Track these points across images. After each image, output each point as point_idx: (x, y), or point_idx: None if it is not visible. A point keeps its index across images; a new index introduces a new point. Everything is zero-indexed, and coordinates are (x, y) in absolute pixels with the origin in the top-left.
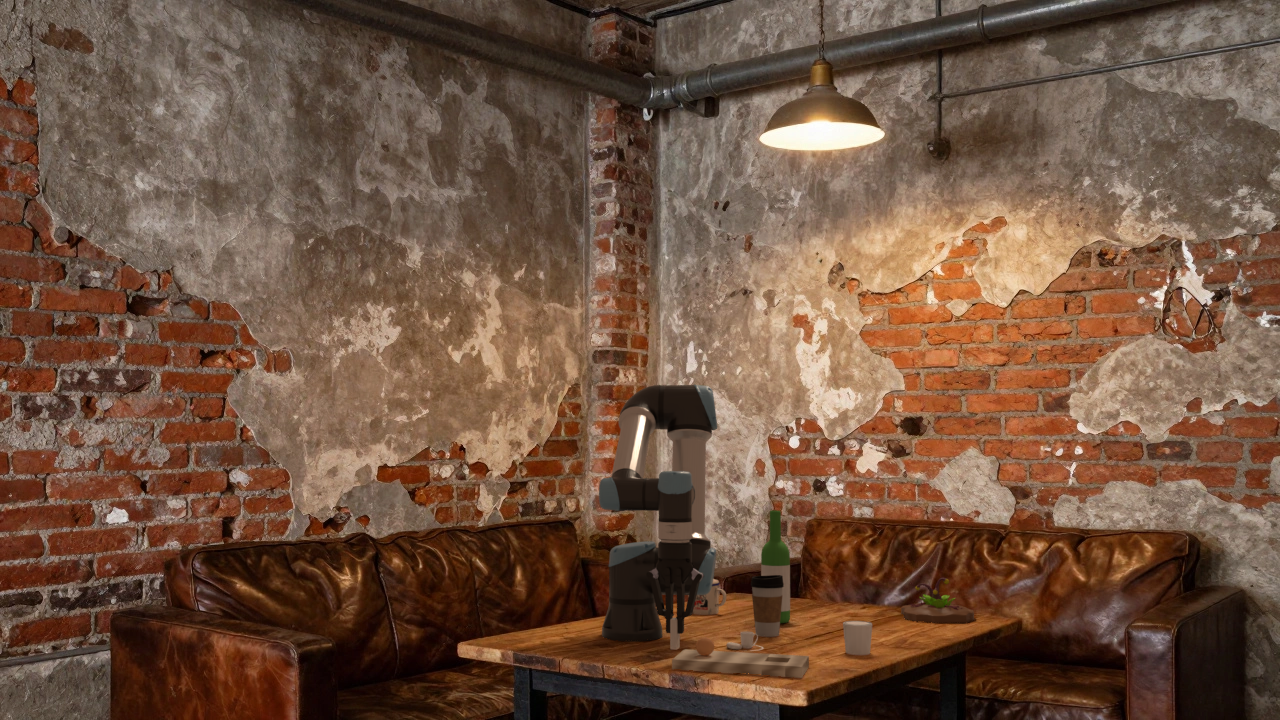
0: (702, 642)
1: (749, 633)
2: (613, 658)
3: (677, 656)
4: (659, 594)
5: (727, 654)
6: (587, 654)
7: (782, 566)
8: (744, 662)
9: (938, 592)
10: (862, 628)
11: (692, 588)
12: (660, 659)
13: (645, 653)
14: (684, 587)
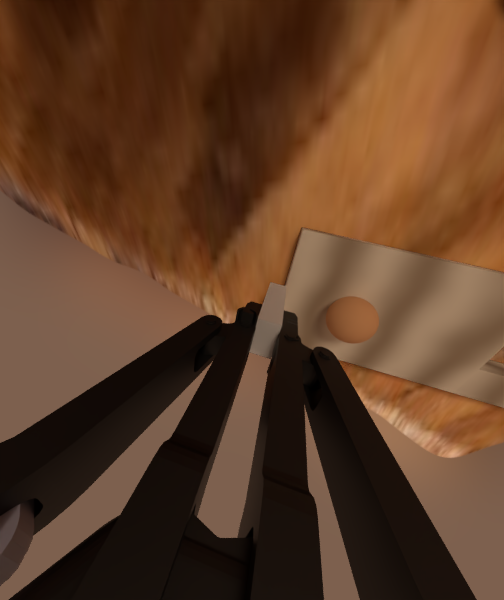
0: (343, 341)
1: None
2: (151, 213)
3: None
4: (159, 405)
5: (411, 295)
6: (89, 170)
7: None
8: (420, 375)
9: None
10: None
11: (361, 556)
12: (246, 216)
13: (202, 132)
14: (306, 487)
